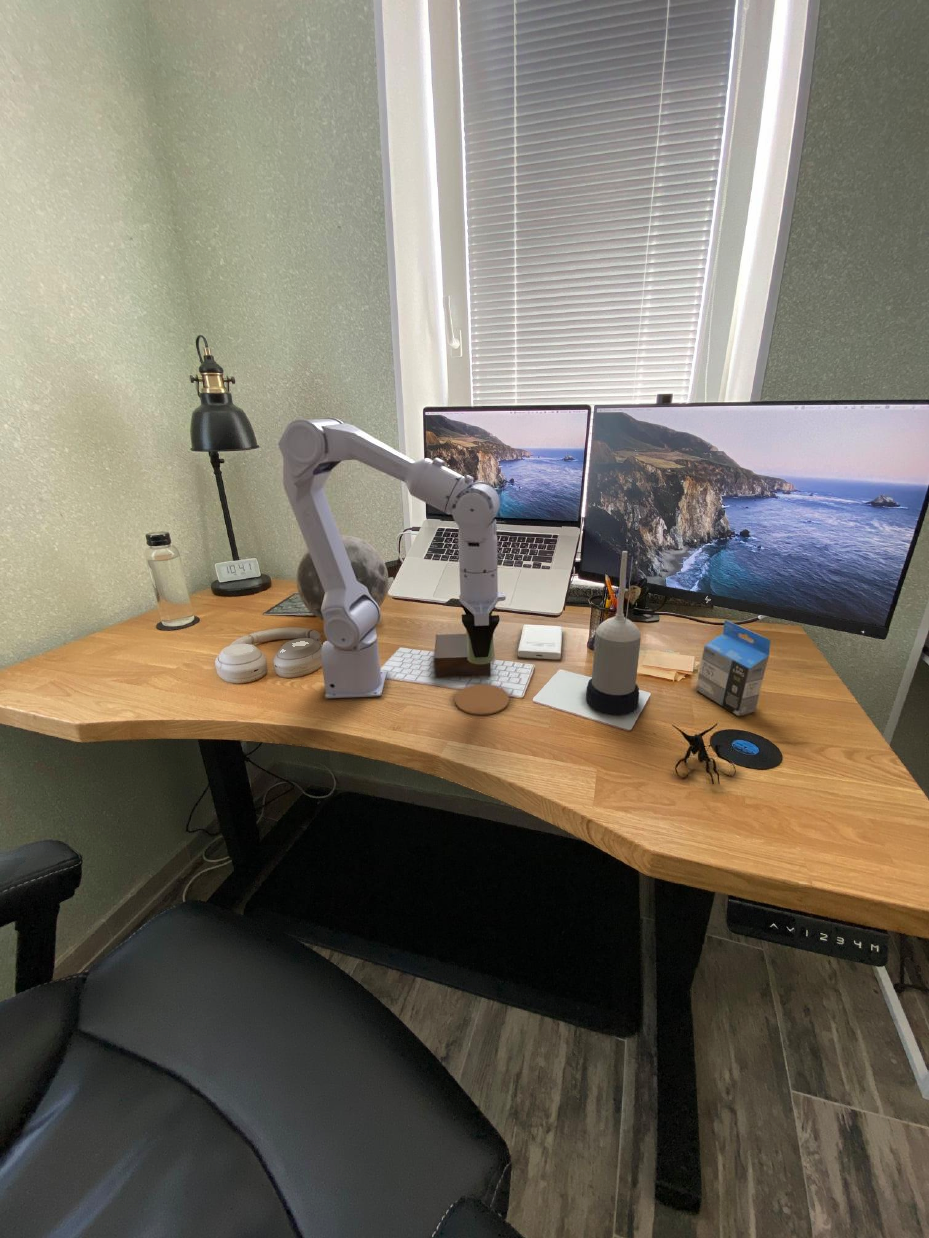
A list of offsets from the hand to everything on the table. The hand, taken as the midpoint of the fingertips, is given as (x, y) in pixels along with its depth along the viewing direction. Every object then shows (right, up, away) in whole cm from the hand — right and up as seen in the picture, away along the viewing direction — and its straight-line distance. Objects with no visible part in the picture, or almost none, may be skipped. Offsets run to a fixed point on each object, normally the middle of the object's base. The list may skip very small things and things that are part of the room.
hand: (480, 649), depth 80 cm
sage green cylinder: (0, -1, +1) cm, 2 cm away
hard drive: (+13, -1, +22) cm, 25 cm away
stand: (-3, -4, +15) cm, 16 cm away
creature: (+29, -15, -14) cm, 35 cm away
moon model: (-29, +4, +36) cm, 47 cm away
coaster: (0, -9, +3) cm, 9 cm away
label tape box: (+39, -8, +1) cm, 40 cm away
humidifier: (+21, -9, +1) cm, 23 cm away
